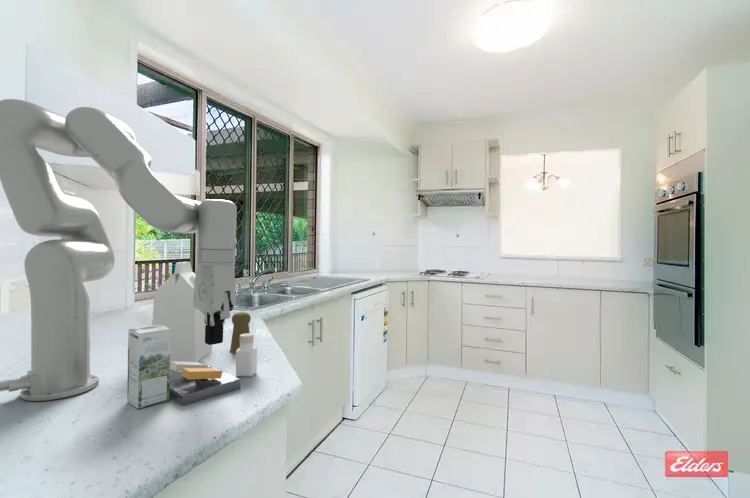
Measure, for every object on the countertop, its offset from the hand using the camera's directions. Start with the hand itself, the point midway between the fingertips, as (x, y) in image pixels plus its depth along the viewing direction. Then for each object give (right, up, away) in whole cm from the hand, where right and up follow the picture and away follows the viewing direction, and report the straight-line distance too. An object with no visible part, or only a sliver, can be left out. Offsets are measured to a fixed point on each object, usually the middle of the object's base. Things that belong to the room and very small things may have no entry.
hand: (213, 343), depth 80 cm
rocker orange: (-2, -6, -2) cm, 6 cm away
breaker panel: (-4, -10, 0) cm, 11 cm away
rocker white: (-6, -6, +2) cm, 9 cm away
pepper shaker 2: (+4, -10, +9) cm, 14 cm away
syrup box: (-10, -10, -7) cm, 16 cm away
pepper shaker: (-5, -10, +30) cm, 32 cm away
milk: (-18, -10, +23) cm, 31 cm away
